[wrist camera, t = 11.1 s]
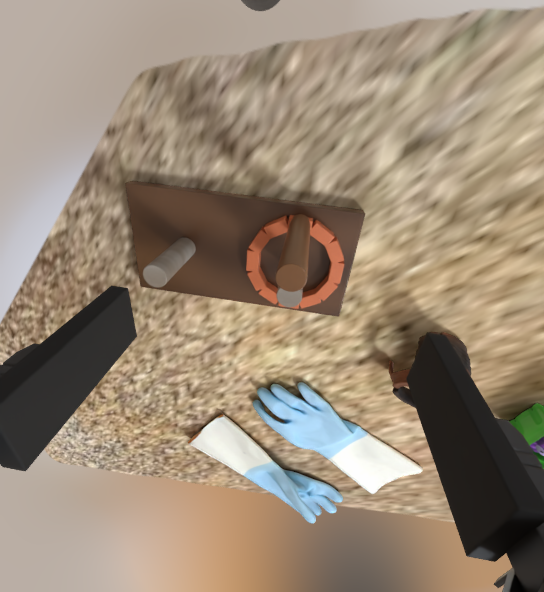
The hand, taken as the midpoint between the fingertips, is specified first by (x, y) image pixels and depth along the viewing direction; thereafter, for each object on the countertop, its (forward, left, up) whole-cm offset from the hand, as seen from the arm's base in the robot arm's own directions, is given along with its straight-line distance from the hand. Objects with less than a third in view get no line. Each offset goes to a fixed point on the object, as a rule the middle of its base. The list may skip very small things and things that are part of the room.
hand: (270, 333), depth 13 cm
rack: (+6, -6, -23) cm, 24 cm away
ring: (+6, +1, -21) cm, 22 cm away
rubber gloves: (+43, +7, -23) cm, 49 cm away
